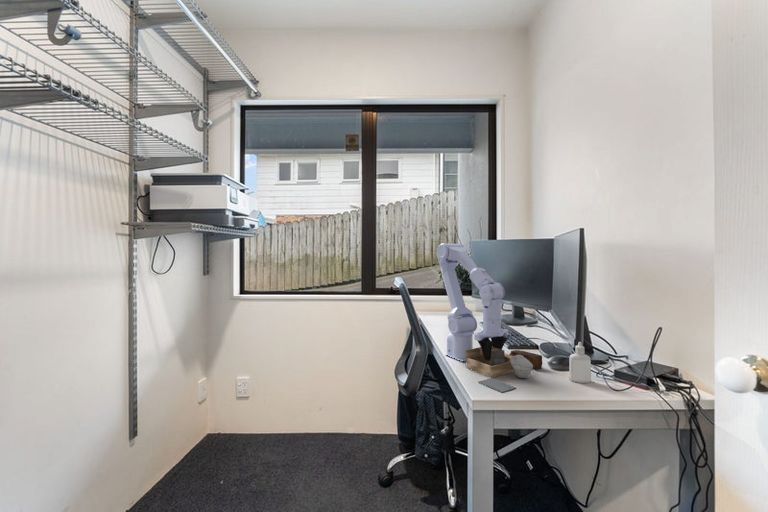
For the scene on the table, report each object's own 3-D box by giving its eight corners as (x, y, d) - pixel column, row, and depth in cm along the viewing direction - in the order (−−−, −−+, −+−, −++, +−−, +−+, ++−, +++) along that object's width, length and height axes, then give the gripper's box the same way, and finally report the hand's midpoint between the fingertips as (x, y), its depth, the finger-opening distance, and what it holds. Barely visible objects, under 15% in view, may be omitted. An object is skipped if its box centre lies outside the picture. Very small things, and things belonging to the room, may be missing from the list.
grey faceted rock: (515, 372, 112) (515, 351, 112) (536, 377, 107) (536, 355, 107) (506, 377, 107) (506, 355, 107) (528, 383, 102) (528, 360, 102)
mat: (478, 382, 103) (478, 381, 103) (491, 378, 106) (491, 377, 106) (502, 392, 95) (502, 391, 95) (516, 388, 98) (516, 387, 98)
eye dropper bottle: (589, 385, 100) (589, 345, 100) (568, 381, 104) (568, 342, 104) (591, 381, 104) (591, 342, 104) (571, 377, 107) (571, 339, 107)
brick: (542, 368, 115) (542, 355, 115) (536, 371, 113) (536, 357, 113) (514, 360, 124) (514, 348, 124) (508, 362, 122) (508, 350, 122)
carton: (465, 367, 116) (465, 350, 116) (496, 360, 124) (496, 343, 124) (491, 377, 107) (491, 359, 107) (523, 369, 115) (523, 351, 115)
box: (480, 361, 117) (480, 347, 117) (488, 359, 119) (488, 345, 119) (496, 367, 111) (496, 352, 111) (504, 365, 113) (504, 350, 113)
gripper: (486, 323, 107) (486, 365, 108) (515, 318, 115) (515, 358, 115) (469, 319, 113) (469, 359, 114) (499, 315, 121) (499, 353, 121)
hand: (491, 358), depth 115 cm, fingers closed on box, 4 cm apart
